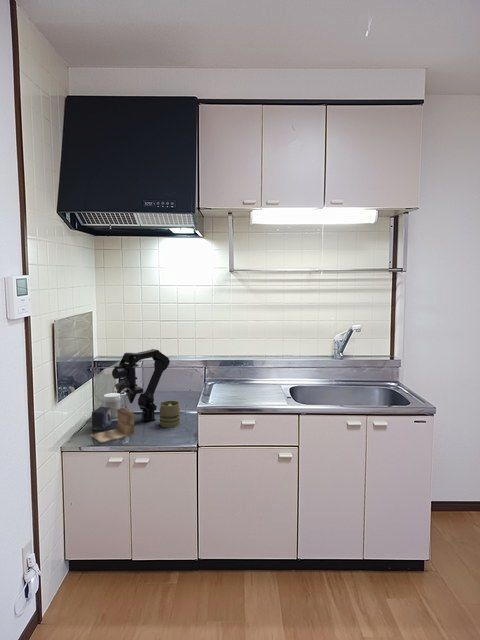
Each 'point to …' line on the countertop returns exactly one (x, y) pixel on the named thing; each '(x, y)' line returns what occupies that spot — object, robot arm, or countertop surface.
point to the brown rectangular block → (125, 421)
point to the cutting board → (108, 435)
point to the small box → (101, 418)
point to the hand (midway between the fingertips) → (131, 403)
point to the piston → (169, 414)
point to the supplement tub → (113, 404)
